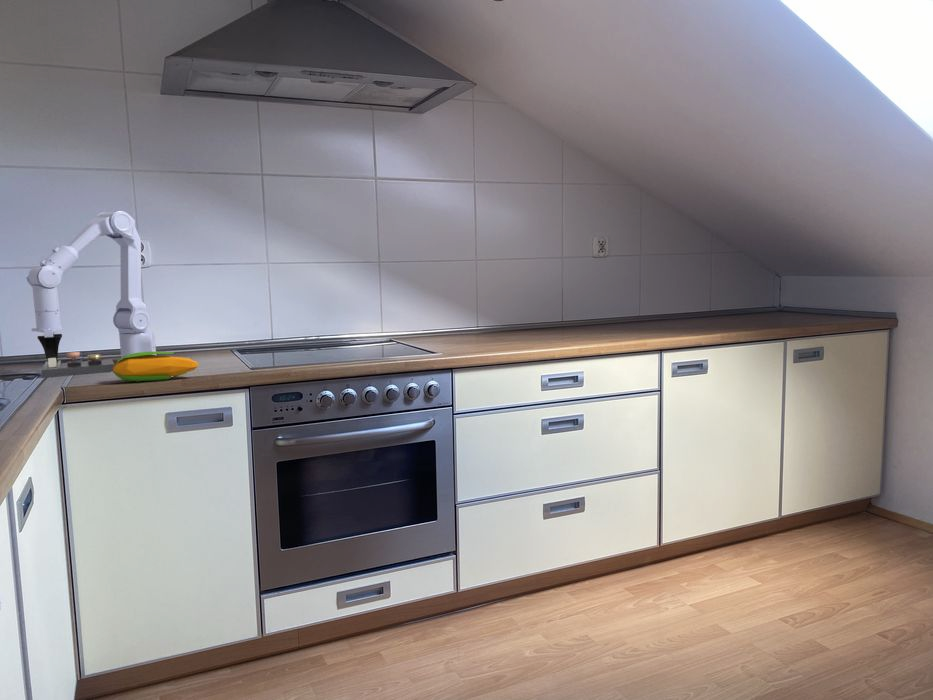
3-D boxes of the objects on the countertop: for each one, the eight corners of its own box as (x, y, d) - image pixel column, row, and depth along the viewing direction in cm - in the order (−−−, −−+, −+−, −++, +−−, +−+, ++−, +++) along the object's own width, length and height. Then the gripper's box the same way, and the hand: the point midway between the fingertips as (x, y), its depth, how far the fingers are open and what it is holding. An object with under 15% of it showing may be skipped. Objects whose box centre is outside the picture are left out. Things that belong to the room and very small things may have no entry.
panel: (112, 366, 199) (111, 355, 199) (114, 371, 190) (113, 360, 189) (43, 371, 191) (42, 361, 191) (42, 377, 182) (41, 366, 181)
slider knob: (56, 365, 187) (55, 357, 186) (56, 366, 185) (55, 358, 185) (48, 366, 186) (48, 358, 186) (48, 367, 184) (47, 359, 184)
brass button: (101, 361, 194) (100, 353, 194) (101, 362, 191) (100, 355, 191) (88, 362, 193) (87, 354, 192) (88, 363, 190) (87, 356, 190)
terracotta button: (80, 358, 192) (79, 351, 191) (80, 360, 189) (79, 352, 189) (67, 359, 190) (66, 352, 190) (67, 361, 187) (66, 353, 187)
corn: (114, 350, 175) (198, 345, 181) (117, 379, 176) (201, 374, 182) (108, 356, 168) (196, 351, 174) (112, 386, 170) (199, 381, 175)
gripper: (31, 310, 189) (36, 359, 191) (28, 313, 177) (33, 366, 179) (60, 309, 193) (65, 357, 195) (60, 312, 180) (65, 363, 182)
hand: (52, 361), depth 187 cm, fingers closed
